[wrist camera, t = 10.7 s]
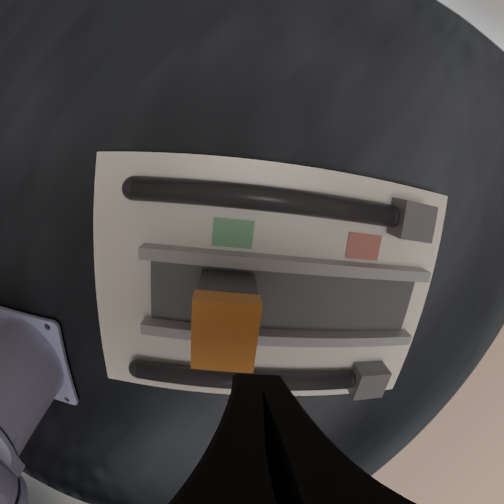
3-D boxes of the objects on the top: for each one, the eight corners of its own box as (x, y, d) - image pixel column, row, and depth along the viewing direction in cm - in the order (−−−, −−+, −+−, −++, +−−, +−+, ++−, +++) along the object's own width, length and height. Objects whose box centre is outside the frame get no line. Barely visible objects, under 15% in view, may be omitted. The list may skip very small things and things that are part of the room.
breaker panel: (114, 365, 18) (100, 392, 15) (108, 153, 15) (82, 150, 12) (384, 377, 20) (401, 402, 17) (433, 193, 16) (464, 199, 13)
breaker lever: (199, 321, 16) (190, 368, 11) (202, 265, 15) (192, 299, 11) (248, 325, 16) (253, 373, 12) (254, 269, 15) (262, 305, 11)
